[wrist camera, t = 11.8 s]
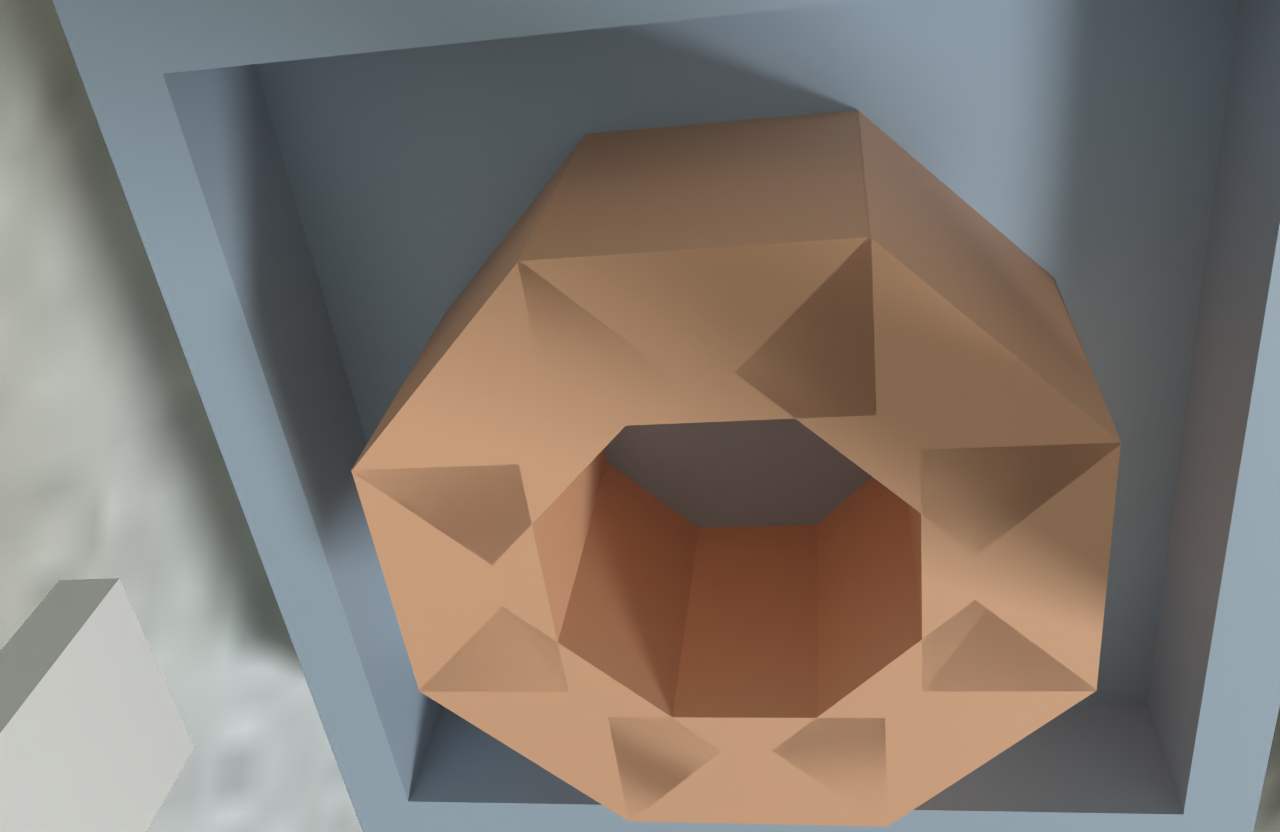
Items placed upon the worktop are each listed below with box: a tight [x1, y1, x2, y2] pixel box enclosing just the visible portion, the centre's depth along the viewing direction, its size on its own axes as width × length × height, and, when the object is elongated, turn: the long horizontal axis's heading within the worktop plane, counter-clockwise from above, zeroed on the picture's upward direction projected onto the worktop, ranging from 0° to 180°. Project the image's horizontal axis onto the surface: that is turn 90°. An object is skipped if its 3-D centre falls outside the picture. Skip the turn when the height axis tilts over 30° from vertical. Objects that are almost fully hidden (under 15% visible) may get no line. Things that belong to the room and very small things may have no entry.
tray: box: [52, 0, 1280, 832], centre depth 16 cm, size 14×14×3 cm
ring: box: [351, 110, 1122, 827], centre depth 15 cm, size 8×8×4 cm
